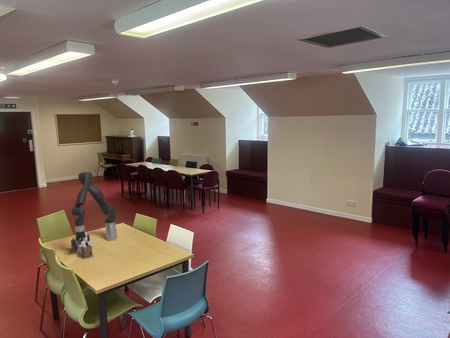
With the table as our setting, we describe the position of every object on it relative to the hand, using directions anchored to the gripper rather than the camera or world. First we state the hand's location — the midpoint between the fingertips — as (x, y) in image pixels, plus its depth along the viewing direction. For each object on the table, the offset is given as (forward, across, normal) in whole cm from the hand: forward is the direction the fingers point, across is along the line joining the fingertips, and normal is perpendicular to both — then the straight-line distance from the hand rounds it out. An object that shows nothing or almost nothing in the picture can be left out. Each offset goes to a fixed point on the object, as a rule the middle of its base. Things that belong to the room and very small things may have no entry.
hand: (81, 247), depth 280 cm
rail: (+4, 0, 0) cm, 4 cm away
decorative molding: (+6, -13, -29) cm, 32 cm away
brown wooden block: (+5, 0, 0) cm, 5 cm away
